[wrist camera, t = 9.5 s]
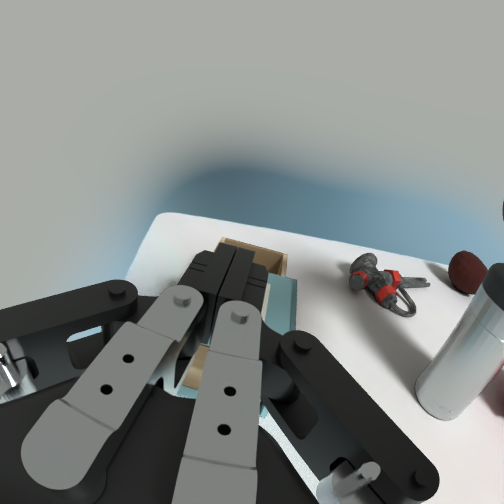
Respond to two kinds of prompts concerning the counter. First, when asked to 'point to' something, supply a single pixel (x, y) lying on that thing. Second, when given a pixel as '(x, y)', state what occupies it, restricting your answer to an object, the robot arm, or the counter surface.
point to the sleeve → (270, 317)
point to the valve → (383, 283)
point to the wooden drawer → (263, 256)
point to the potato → (466, 272)
